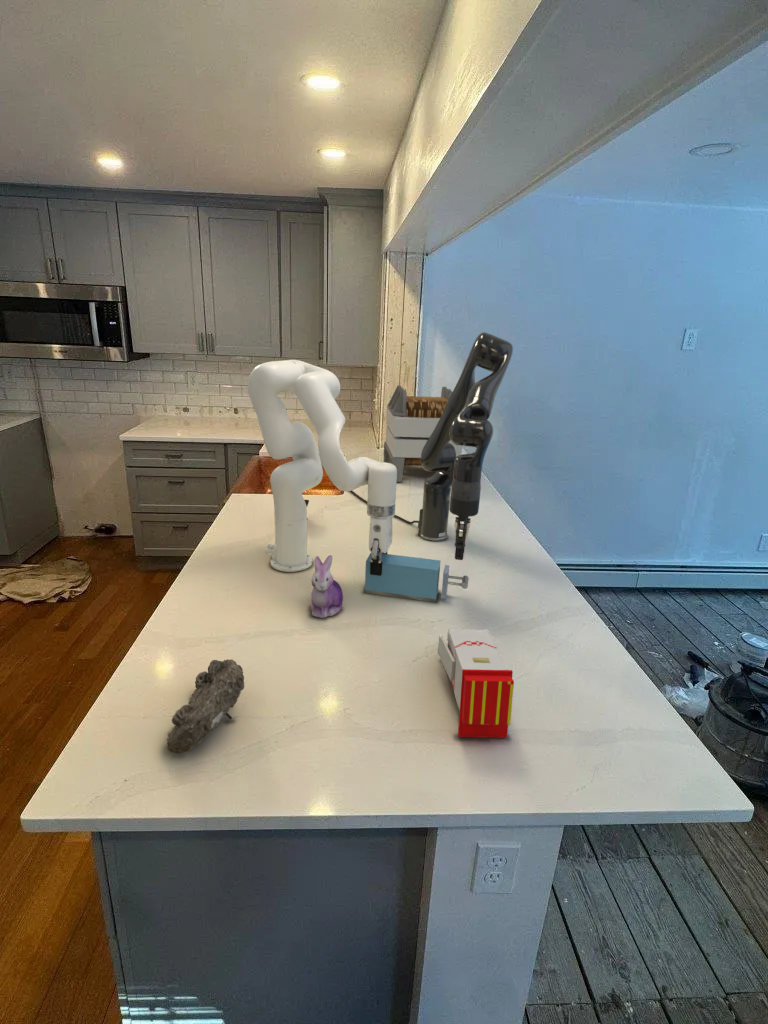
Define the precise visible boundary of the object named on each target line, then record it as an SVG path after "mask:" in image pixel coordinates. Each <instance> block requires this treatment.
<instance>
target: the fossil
mask: <svg viewBox="0 0 768 1024" xmlns="http://www.w3.org/2000/svg"><path fill="white" fill-rule="evenodd" d="M243 670H244V669H243V667H242V665H240V664H237V662H236V661H235V660H234V659H232V658H231V659H227V658H226V659H224V660H223V661H222V660H217V659H212V660H211V661H210V663H209V665H208V666H207V671H201V672H199V673H198V674H197V675H196V676H195V680H194V684H195V685H194V687H195V689H194V690H193V693H192V694H191V697H190V698H189V700H188V704H184V705H182V706H181V707H180V709H177V710H176V711H175V713H174V715H173V716H172V718H171V723H172V724H173V727H172V730H171V731H170V732H168V734H167V738H166V741H167V742H166V745H167V749H168V750H169V751H173V752H174V753H176V754H178V753H182V752H188V751H189V752H192V751H193V750H195V748H196V747H197V746H199V744H200V743H201V742H203V741H204V740H205V739H206V738H207V737H208V736H209V735H210V734H211V733H212V732H214V730H215V729H217V727H218V726H219V724H220V722H221V721H222V720H223V719H224V718H225V716H226V717H227V719H229V720H233V717H232V715H230V714H229V710H230V709H231V708H234V706H235V704H236V703H237V702H238V699H239V697H240V695H241V693H242V691H243V690H245V689H244V688H245V675H244V671H243Z"/></svg>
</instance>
